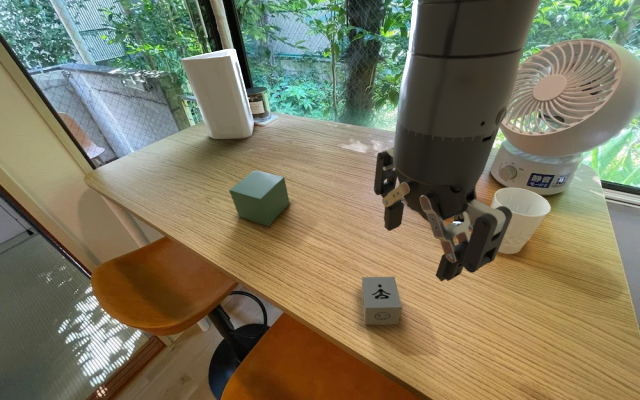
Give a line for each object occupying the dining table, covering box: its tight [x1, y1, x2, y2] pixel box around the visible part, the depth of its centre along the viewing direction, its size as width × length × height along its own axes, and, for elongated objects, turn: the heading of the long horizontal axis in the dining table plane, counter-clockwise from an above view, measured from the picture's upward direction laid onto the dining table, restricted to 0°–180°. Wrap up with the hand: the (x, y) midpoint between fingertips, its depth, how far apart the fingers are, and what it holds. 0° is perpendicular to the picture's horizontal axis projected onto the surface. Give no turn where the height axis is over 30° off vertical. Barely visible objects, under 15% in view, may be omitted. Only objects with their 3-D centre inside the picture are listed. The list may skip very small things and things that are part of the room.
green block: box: [228, 169, 290, 227], centre depth 60 cm, size 9×9×8 cm
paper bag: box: [180, 48, 255, 140], centre depth 95 cm, size 19×15×28 cm
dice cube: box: [361, 276, 403, 326], centre depth 39 cm, size 5×5×5 cm
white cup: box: [489, 186, 552, 255], centre depth 46 cm, size 8×8×10 cm
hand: (416, 249), depth 30 cm, fingers open, 8 cm apart
